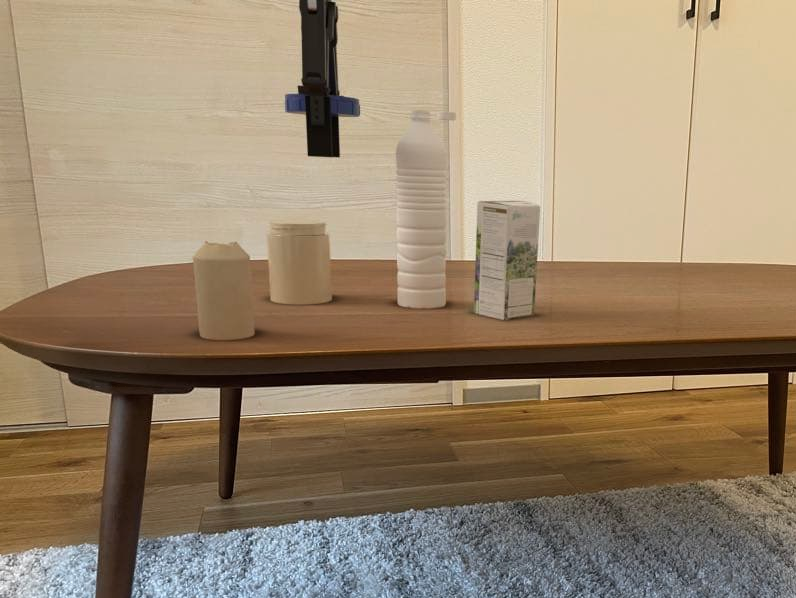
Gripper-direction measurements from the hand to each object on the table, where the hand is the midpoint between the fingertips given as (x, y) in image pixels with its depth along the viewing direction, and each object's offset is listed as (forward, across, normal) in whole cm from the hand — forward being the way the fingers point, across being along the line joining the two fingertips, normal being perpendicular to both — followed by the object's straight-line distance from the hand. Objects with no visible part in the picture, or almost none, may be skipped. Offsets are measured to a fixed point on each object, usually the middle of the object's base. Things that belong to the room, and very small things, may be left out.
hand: (324, 156), depth 94 cm
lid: (-6, 0, 0) cm, 6 cm away
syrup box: (+19, -2, -22) cm, 29 cm away
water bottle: (+19, +5, -12) cm, 23 cm away
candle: (+19, -16, +9) cm, 26 cm away
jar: (+19, +7, +4) cm, 21 cm away
